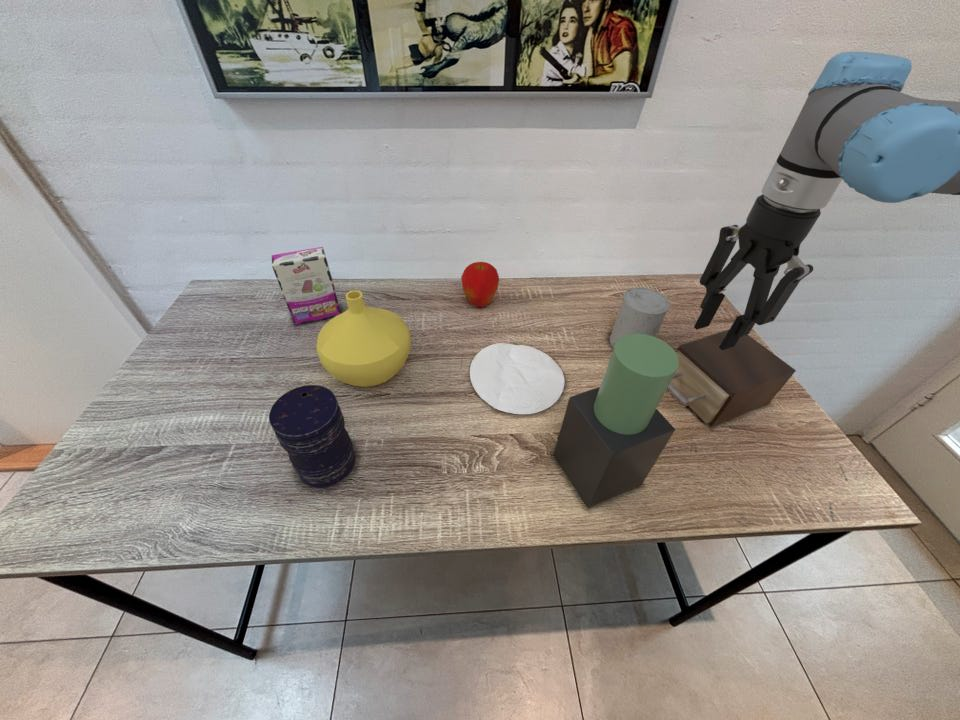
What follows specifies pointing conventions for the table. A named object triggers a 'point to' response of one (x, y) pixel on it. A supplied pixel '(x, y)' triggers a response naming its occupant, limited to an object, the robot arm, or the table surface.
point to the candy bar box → (306, 285)
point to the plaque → (516, 378)
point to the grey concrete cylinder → (640, 313)
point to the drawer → (696, 389)
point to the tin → (634, 383)
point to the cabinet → (739, 372)
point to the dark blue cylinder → (314, 435)
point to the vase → (363, 344)
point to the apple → (480, 283)
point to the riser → (606, 451)
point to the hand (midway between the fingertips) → (713, 336)
